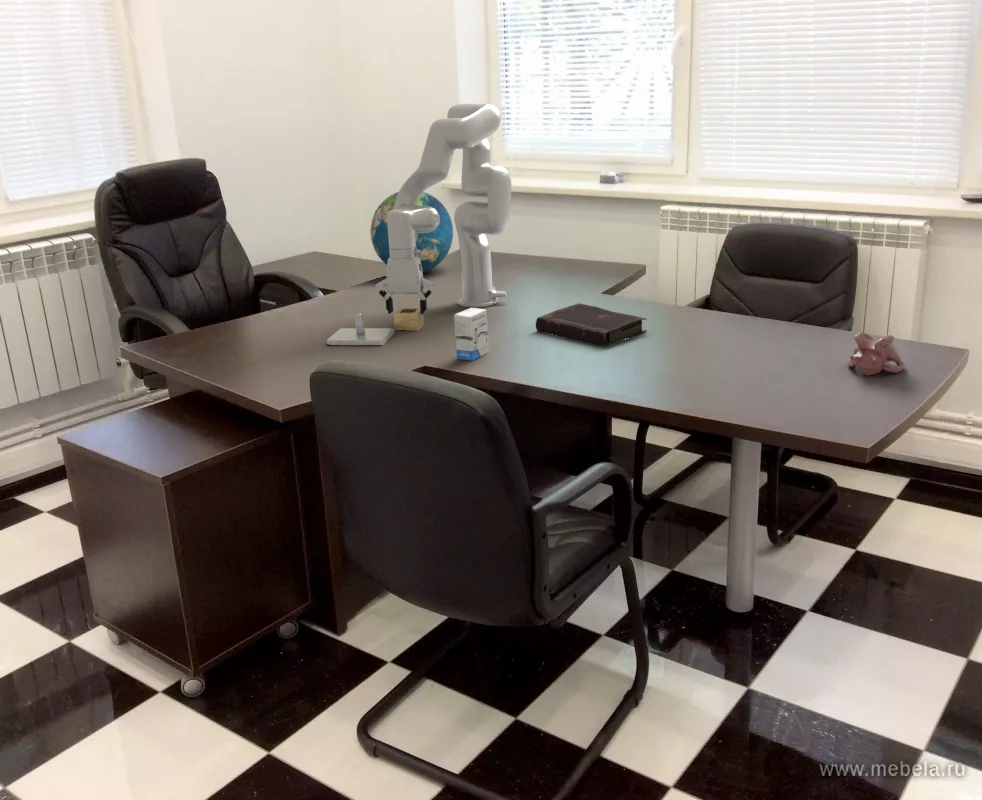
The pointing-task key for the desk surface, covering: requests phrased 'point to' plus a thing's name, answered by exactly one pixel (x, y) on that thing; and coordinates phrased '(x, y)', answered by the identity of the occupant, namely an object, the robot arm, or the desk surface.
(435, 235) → the globe
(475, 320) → the ink box
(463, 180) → the robot arm
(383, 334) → the post block
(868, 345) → the figurine
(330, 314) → the desk surface
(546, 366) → the desk surface
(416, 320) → the tan block
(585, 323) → the diary
